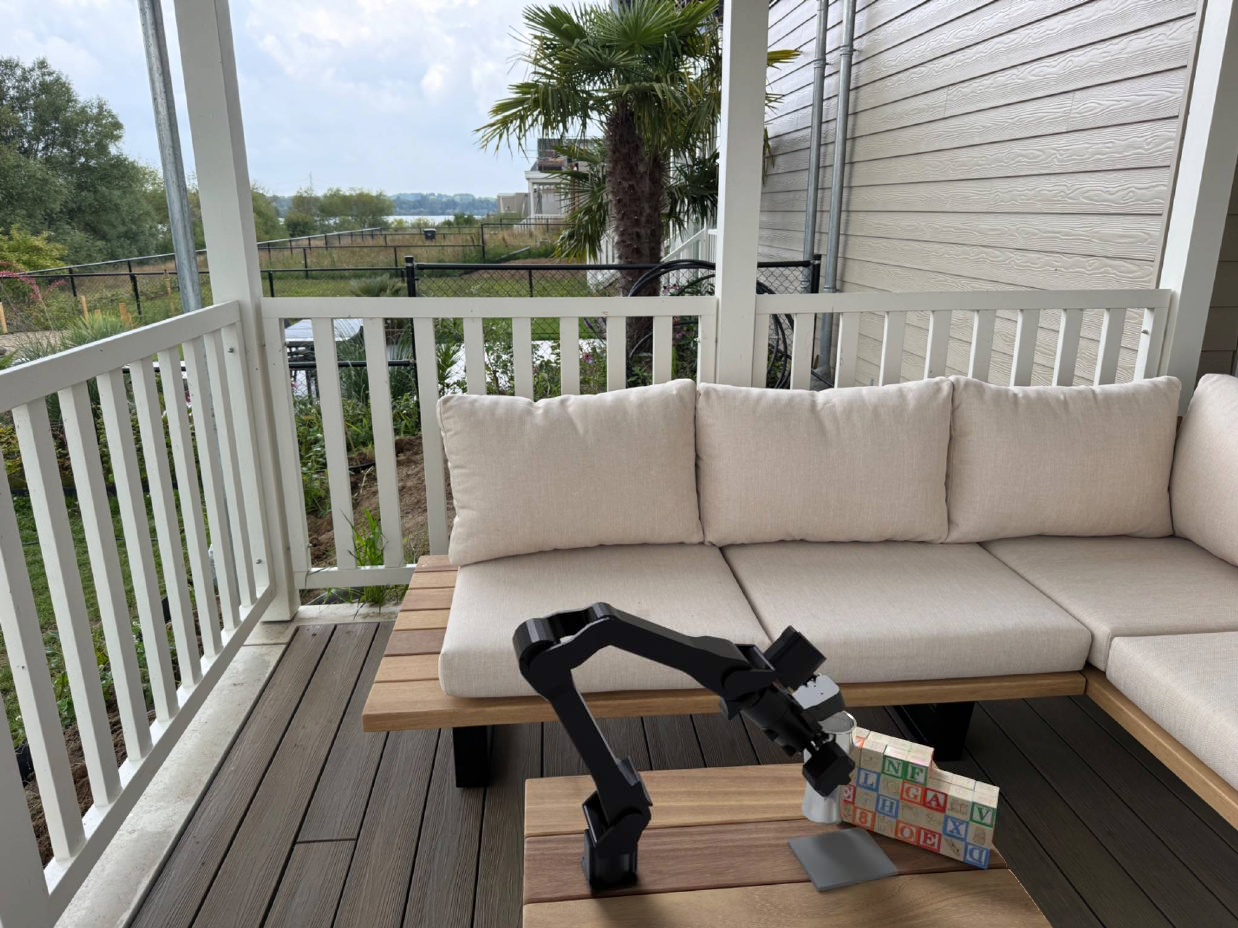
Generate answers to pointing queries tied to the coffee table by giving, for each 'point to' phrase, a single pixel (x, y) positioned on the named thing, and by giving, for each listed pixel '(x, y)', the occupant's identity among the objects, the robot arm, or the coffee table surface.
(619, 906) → the coffee table surface
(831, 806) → the chrome tapered cup
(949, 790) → the stack of blocks
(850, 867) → the charcoal mat
